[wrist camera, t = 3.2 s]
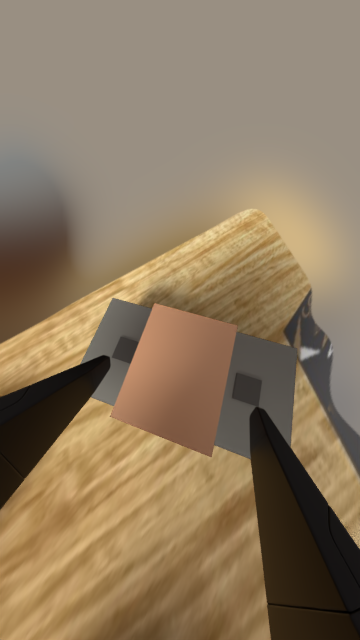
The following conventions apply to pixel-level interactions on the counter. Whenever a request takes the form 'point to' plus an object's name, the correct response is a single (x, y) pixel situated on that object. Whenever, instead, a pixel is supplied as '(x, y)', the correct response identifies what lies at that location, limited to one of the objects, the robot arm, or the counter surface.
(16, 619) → the counter surface
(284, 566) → the robot arm
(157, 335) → the plug
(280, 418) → the socket block
